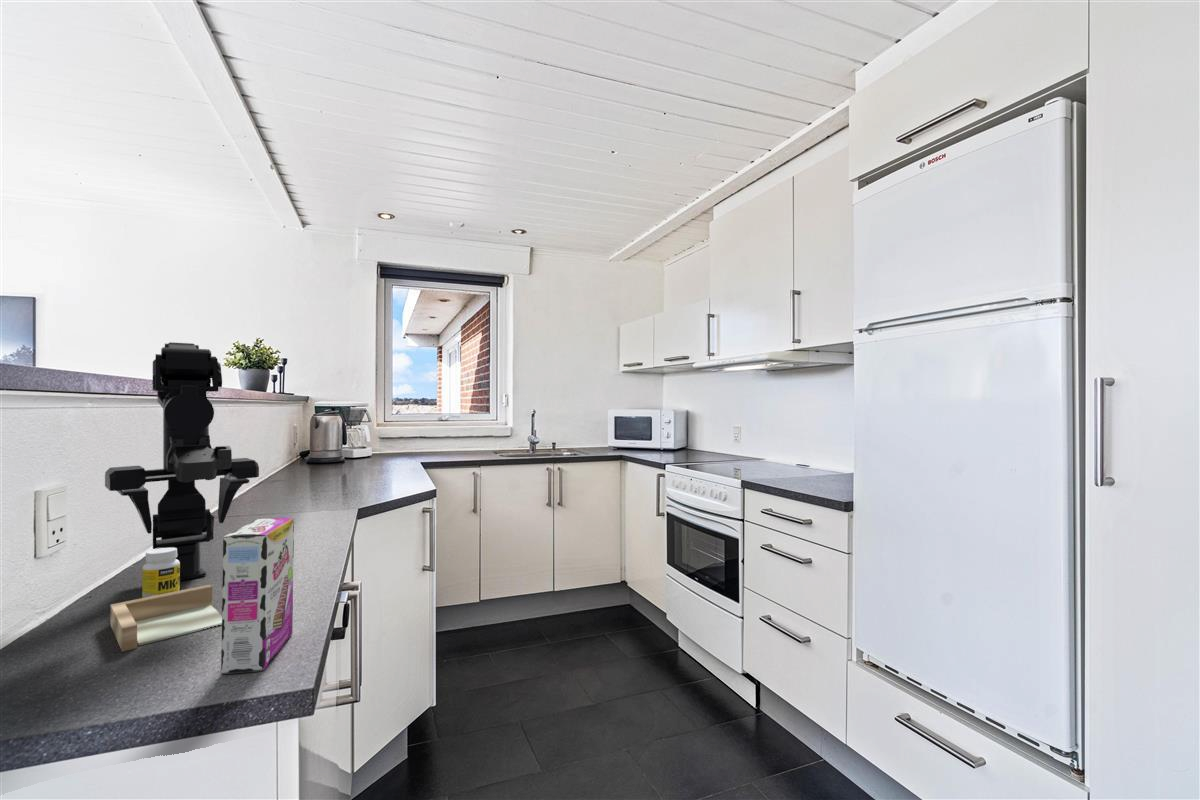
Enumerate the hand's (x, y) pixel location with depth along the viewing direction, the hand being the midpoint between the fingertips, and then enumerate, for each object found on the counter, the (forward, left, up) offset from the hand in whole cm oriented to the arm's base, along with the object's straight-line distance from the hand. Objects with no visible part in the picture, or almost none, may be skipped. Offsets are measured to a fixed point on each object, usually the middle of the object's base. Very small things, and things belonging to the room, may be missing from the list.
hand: (186, 527), depth 87 cm
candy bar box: (+27, +3, -13) cm, 30 cm away
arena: (+7, -2, -13) cm, 15 cm away
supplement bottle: (-6, -2, -13) cm, 14 cm away
